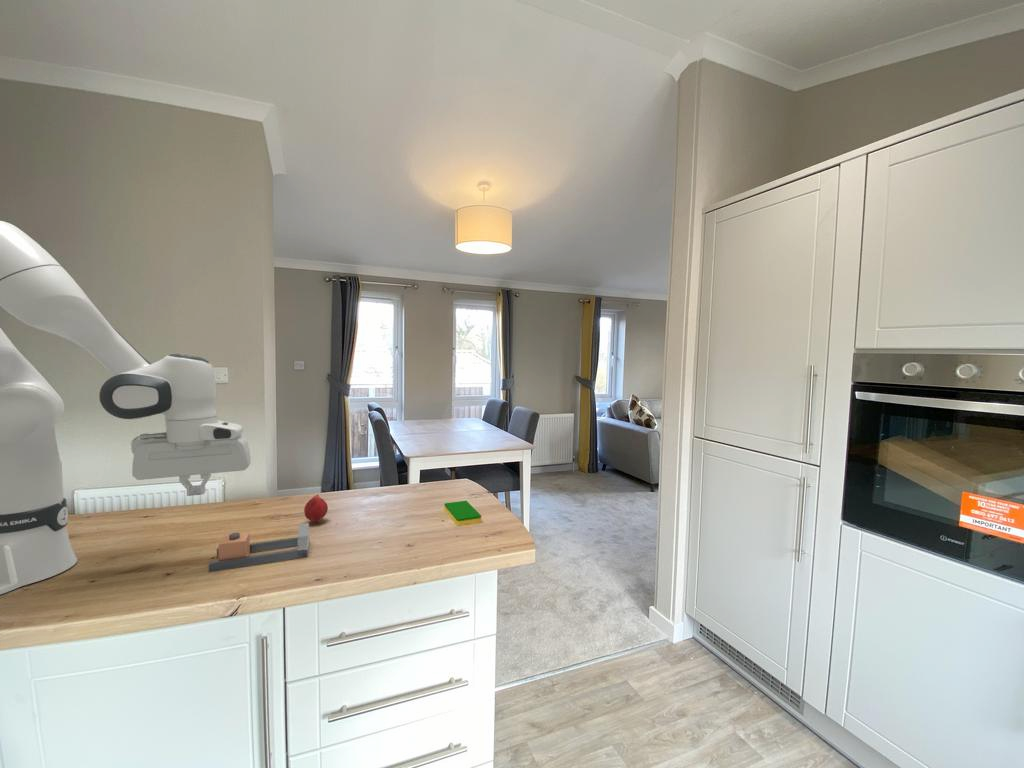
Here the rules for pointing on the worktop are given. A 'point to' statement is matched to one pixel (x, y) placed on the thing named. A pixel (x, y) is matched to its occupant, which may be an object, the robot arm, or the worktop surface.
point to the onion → (315, 509)
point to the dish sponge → (462, 513)
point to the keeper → (234, 546)
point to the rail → (301, 552)
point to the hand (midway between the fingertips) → (196, 494)
